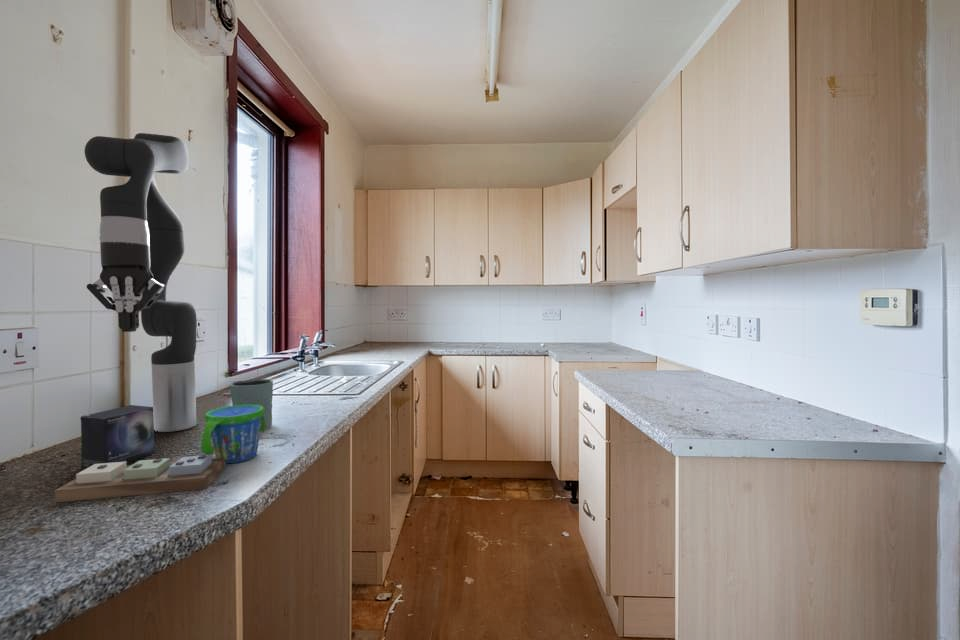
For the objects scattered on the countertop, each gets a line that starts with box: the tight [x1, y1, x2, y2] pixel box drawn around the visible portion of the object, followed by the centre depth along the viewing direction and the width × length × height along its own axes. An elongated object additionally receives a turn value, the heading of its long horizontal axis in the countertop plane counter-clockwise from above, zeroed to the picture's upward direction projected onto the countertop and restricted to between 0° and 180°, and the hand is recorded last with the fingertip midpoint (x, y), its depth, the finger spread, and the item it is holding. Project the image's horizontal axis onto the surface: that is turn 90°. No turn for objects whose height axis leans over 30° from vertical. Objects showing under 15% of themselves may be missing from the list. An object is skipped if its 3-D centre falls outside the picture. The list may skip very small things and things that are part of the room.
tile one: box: [75, 462, 128, 484], centre depth 77 cm, size 5×5×4 cm
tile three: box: [169, 454, 213, 476], centre depth 80 cm, size 5×5×4 cm
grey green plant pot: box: [229, 378, 274, 429], centre depth 115 cm, size 10×10×12 cm
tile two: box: [124, 457, 171, 480], centre depth 79 cm, size 5×5×4 cm
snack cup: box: [200, 405, 267, 464], centre depth 91 cm, size 16×10×10 cm
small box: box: [80, 404, 155, 469], centre depth 91 cm, size 11×6×10 cm, turn 168°
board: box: [54, 458, 226, 503], centre depth 79 cm, size 10×22×2 cm, turn 102°
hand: (129, 331), depth 86 cm, fingers closed
